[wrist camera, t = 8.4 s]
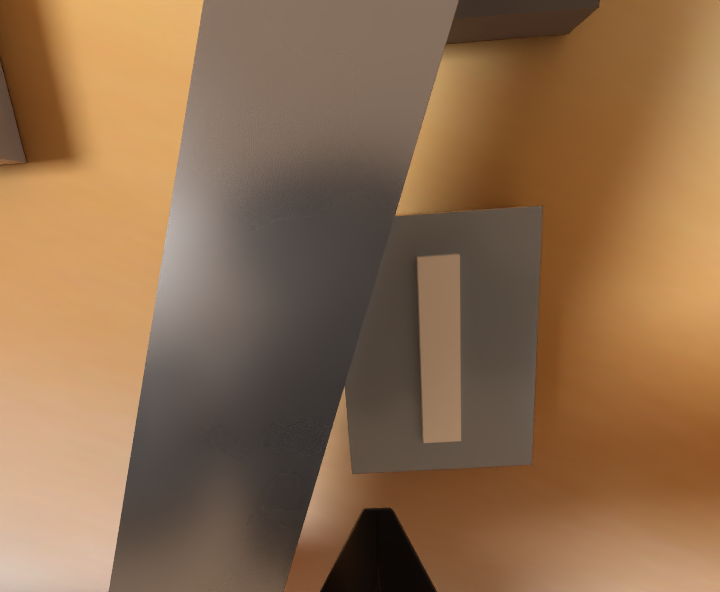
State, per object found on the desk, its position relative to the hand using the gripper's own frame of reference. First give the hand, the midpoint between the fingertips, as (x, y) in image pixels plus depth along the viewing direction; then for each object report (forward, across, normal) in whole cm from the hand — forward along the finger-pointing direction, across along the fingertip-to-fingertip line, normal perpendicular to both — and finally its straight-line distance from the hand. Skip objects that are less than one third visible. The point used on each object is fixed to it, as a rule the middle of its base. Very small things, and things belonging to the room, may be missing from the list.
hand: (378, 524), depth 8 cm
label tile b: (+4, -2, -3) cm, 5 cm away
